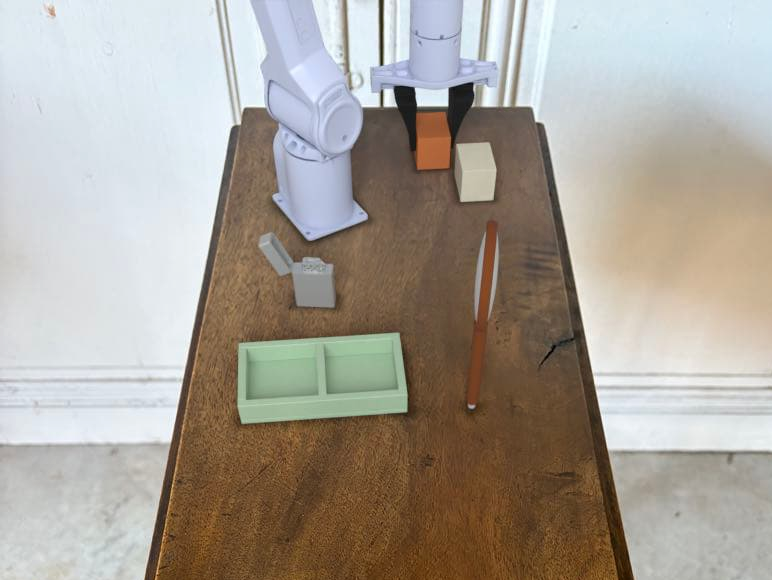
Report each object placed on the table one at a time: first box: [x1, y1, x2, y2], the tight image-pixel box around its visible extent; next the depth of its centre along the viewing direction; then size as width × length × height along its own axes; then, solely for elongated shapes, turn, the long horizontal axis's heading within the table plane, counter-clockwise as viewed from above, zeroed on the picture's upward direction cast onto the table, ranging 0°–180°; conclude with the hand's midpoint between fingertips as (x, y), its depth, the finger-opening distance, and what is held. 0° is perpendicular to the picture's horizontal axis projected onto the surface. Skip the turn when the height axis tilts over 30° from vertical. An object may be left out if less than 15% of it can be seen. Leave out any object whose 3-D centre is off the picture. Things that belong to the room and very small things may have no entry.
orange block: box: [413, 111, 451, 171], centre depth 98 cm, size 6×4×4 cm
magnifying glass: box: [465, 219, 500, 410], centre depth 69 cm, size 9×2×20 cm, turn 173°
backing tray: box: [236, 332, 409, 425], centre depth 78 cm, size 8×16×2 cm, turn 96°
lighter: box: [258, 231, 337, 309], centre depth 82 cm, size 7×2×8 cm, turn 87°
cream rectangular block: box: [454, 141, 497, 203], centre depth 95 cm, size 6×4×4 cm
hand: (431, 145), depth 98 cm, fingers closed on orange block, 4 cm apart
